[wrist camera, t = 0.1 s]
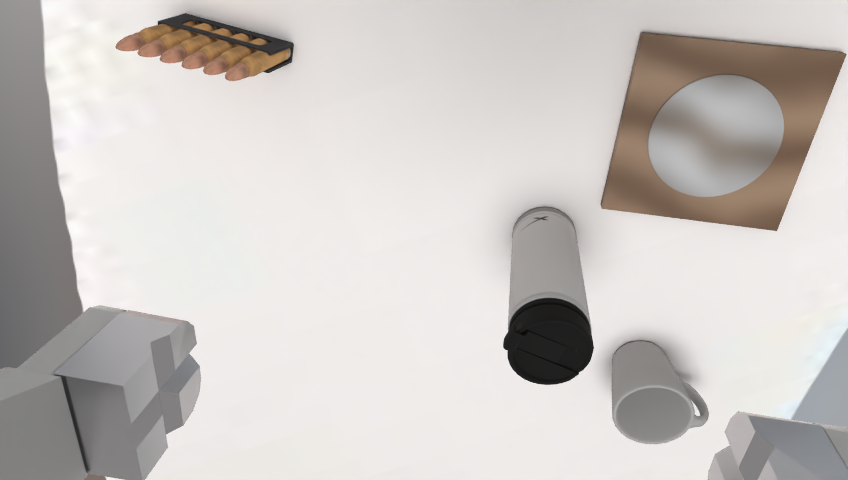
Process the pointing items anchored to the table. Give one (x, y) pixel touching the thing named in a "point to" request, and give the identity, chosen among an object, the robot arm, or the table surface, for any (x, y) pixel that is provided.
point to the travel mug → (547, 300)
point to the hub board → (717, 128)
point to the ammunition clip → (210, 47)
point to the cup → (651, 396)
